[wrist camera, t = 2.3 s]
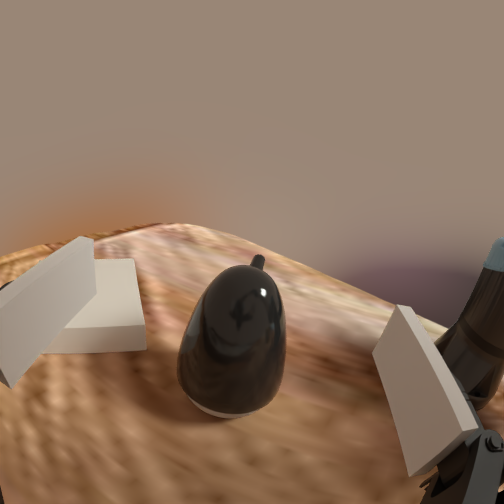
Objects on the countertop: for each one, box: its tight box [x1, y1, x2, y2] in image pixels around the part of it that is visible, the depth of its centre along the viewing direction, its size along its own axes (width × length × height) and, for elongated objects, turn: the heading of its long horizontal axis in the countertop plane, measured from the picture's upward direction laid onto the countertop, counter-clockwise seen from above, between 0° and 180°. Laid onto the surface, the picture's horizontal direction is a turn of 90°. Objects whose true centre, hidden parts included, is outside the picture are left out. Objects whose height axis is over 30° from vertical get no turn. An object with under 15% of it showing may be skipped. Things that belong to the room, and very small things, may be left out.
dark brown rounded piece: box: [177, 254, 286, 418], centre depth 25 cm, size 10×10×15 cm
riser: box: [39, 259, 147, 354], centre depth 33 cm, size 16×16×4 cm
